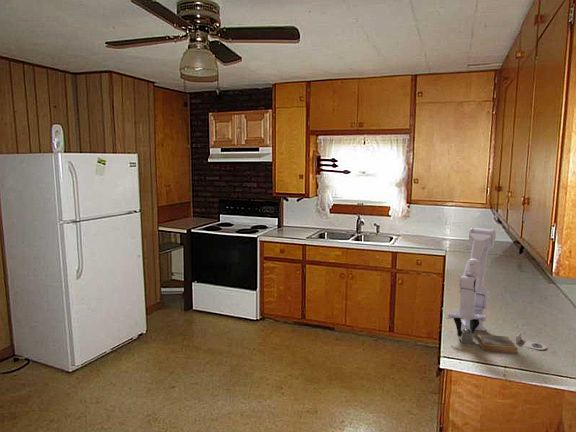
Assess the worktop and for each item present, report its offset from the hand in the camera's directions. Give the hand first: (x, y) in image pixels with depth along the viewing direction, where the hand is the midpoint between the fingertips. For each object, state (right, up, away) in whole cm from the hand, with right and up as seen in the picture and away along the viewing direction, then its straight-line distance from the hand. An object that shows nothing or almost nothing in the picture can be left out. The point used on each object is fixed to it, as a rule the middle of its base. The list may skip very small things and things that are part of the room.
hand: (464, 335), depth 169 cm
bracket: (+25, -3, -4) cm, 25 cm away
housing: (0, -1, 0) cm, 1 cm away
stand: (+10, -2, -6) cm, 12 cm away
